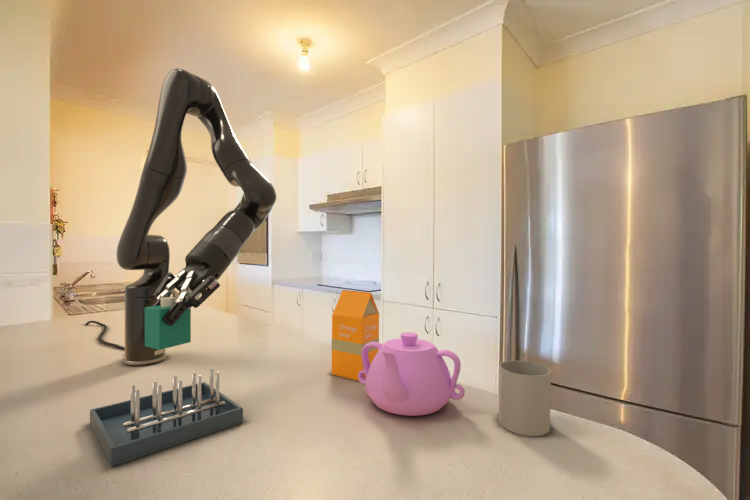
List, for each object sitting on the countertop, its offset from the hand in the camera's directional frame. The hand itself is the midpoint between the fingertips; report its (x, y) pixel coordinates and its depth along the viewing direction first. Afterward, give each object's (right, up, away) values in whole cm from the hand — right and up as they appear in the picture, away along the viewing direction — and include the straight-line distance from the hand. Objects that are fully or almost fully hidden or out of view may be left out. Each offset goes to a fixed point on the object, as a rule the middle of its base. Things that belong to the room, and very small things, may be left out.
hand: (158, 321), depth 68 cm
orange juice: (+34, -17, +25) cm, 45 cm away
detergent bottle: (+1, -5, +2) cm, 5 cm away
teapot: (+44, -18, +6) cm, 48 cm away
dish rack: (+6, -17, -6) cm, 19 cm away
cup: (+65, -18, -1) cm, 67 cm away
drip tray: (+3, -17, -2) cm, 18 cm away
